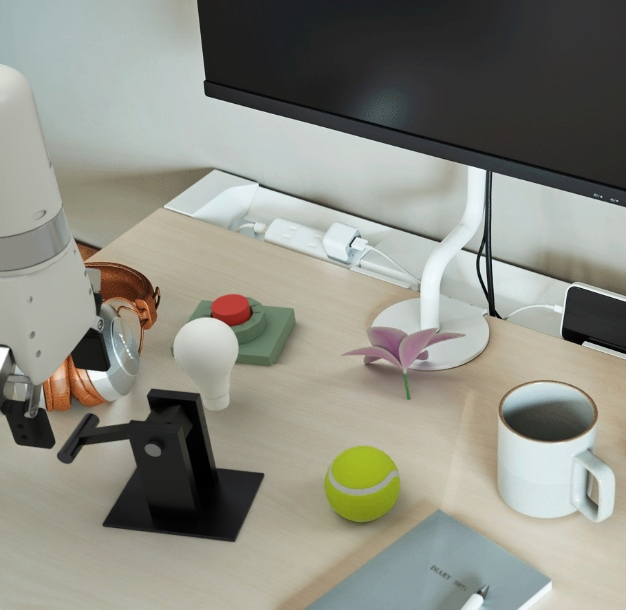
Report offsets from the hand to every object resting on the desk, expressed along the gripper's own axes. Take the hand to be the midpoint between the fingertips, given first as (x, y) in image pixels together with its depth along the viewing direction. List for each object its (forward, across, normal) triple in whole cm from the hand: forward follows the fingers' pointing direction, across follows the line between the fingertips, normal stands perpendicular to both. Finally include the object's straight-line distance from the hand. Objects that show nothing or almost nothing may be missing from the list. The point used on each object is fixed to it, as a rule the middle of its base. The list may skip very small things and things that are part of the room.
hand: (66, 404), depth 78 cm
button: (+8, -24, +5) cm, 25 cm away
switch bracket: (+11, 0, +9) cm, 14 cm away
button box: (+11, -24, +5) cm, 27 cm away
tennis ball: (+11, -2, +25) cm, 27 cm away
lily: (+11, -20, +25) cm, 34 cm away
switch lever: (+3, 0, +5) cm, 6 cm away
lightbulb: (+11, -13, +7) cm, 18 cm away
